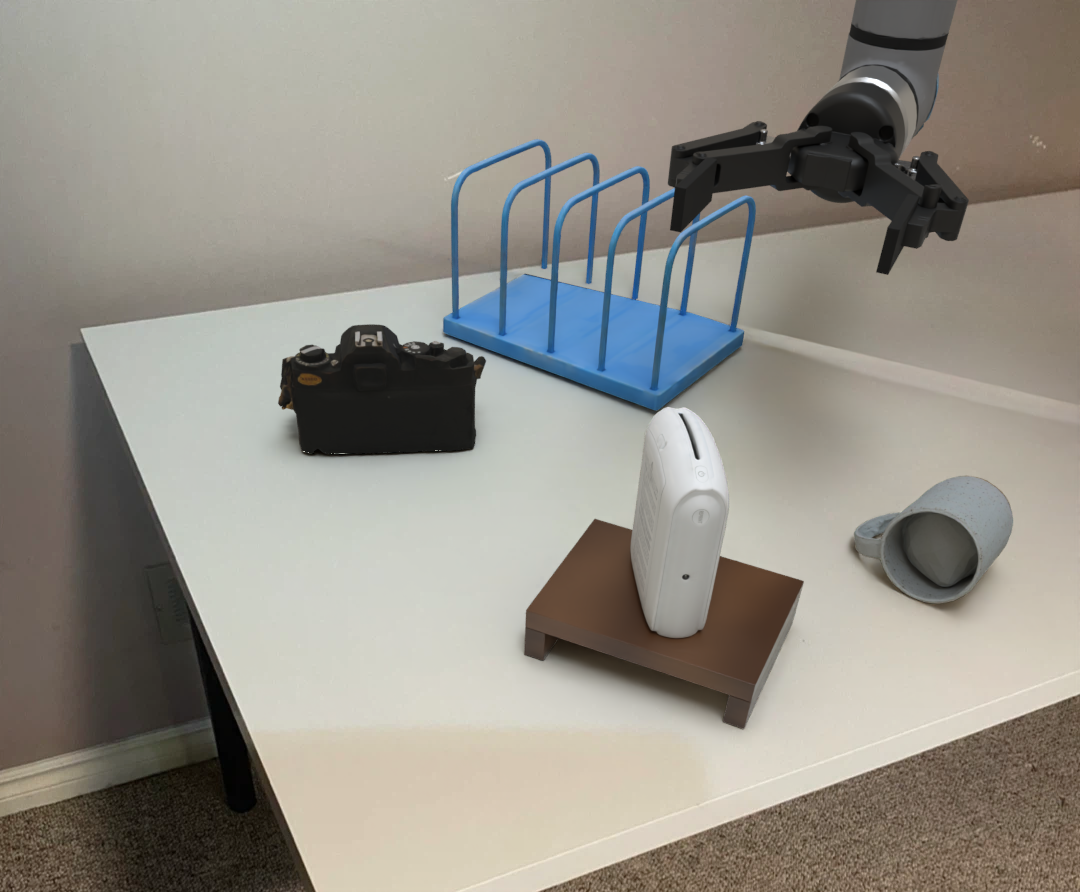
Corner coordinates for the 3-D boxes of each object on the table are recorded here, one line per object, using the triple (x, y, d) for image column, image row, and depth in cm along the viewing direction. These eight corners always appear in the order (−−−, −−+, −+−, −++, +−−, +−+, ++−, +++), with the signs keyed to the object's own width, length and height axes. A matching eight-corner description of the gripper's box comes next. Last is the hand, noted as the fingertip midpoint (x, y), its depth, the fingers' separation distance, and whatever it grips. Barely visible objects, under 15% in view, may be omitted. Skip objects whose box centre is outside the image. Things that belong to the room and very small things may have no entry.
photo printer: (711, 640, 70) (745, 477, 62) (646, 642, 70) (671, 478, 61) (682, 546, 78) (709, 388, 69) (623, 547, 77) (643, 389, 68)
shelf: (792, 624, 78) (804, 580, 75) (743, 729, 70) (755, 685, 67) (590, 561, 82) (594, 518, 80) (523, 654, 75) (525, 609, 72)
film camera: (447, 379, 101) (445, 274, 94) (500, 444, 94) (502, 335, 87) (261, 414, 95) (244, 305, 88) (302, 486, 88) (286, 373, 81)
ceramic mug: (1001, 568, 84) (1035, 483, 78) (961, 620, 79) (996, 533, 74) (875, 519, 88) (900, 436, 83) (831, 565, 83) (854, 480, 78)
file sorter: (743, 348, 108) (772, 188, 97) (656, 417, 98) (678, 246, 87) (540, 279, 118) (546, 126, 107) (441, 336, 108) (437, 173, 97)
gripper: (1007, 218, 80) (962, 330, 67) (692, 160, 87) (592, 251, 73) (1043, 108, 75) (1003, 204, 61) (705, 55, 82) (601, 131, 68)
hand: (779, 230), depth 67 cm, fingers open, 13 cm apart
